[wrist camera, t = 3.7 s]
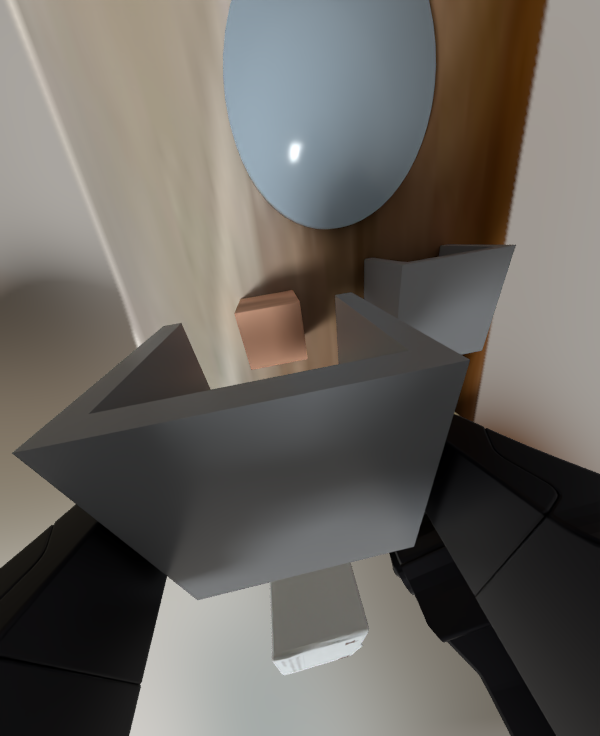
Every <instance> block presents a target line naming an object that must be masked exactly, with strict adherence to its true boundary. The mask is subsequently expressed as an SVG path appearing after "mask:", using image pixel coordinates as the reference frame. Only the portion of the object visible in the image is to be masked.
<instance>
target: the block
mask: <svg viewBox="0 0 600 736" xmlns="http://www.w3.org/2000/svg"><path fill="white" fill-rule="evenodd" d="M235 317H236V320H237V324H238V327H239V330H240V334H241V337H242V340H243V344H244V347H245V350H246V354H247V357H248V360H249V364H250V367H251V370H253V369H258V368H264V367H269V366H274V365H279V364H284V363H290V362H295V361H300V360H305V359H308V357H307V350H306V343H305V336H304V329H303V321H302V314H301V307H300V301H299V300H298V298H297V296H296V295H295V293H294V291H293V290H289V291H284V292H278V293H272V294H267V295H261V296H255V297H250V298H244V299H240V302H239V304H238V306H237V309H236V311H235Z"/></svg>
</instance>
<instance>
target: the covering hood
mask: <svg viewBox="0 0 600 736" xmlns="http://www.w3.org/2000/svg"><path fill="white" fill-rule="evenodd" d="M335 306H336V324H337V341H338V359H339V364H338V365H333V366H328V367H323V368H318V369H313V370H308V371H303V372H298V373H293V374H288V375H283V376H278V377H273V378H268V379H263V380H258V381H253V382H248V383H243V384H238V385H233V386H228V387H223V388H217V389H212V390H211V389H210V387H209V385H208V383H207V380H206V378H205V376H204V374H203V371H202V369H201V367H200V364H199V362H198V360H197V358H196V355H195V353H194V351H193V349H192V346H191V344H190V342H189V340H188V337H187V335H186V333H185V330H184V328H183V326H182V324H181V323H179V324H173V325H168V326H163V327H162V328H161V329H160V330H158V331H157V332H156V333H155V334H154V335H152V336H151V337H150V338H149V339H148V340H147V341H145V342H144V343H143V344H142V345H141V346H139V347H138V348H137V349H136V350H135V351H133V352H132V353H131V354H130V355H129V356H127V357H126V358H125V359H124V360H123V361H121V362H120V363H119V364H118V365H117V366H115V367H114V368H113V369H112V370H111V371H109V372H108V373H107V374H106V375H105V376H104V377H103V378H101V379H100V380H99V381H98V382H96V383H95V384H94V385H93V386H92V387H90V388H89V389H88V390H87V391H86V392H85V393H83V394H82V395H81V396H80V397H78V398H77V399H76V400H75V401H74V402H73V403H71V404H70V405H69V406H68V407H67V408H65V409H64V410H63V411H62V412H61V413H60V414H58V415H57V416H56V417H55V418H53V419H52V420H51V421H50V422H49V423H47V424H46V425H45V426H44V427H43V428H41V429H40V430H39V431H38V432H37V433H35V434H34V435H33V436H32V437H31V438H29V439H28V440H27V441H26V442H25V443H24V444H22V445H21V446H20V447H19V448H18V449H16V450H15V451H14V452H13V453H12V454H14V455H15V456H16V457H17V458H19V459H20V460H21V461H23V462H24V463H25V464H26V465H28V466H29V467H30V468H31V469H33V470H34V471H35V472H36V473H38V474H39V475H40V476H41V477H43V478H44V479H45V480H47V481H48V482H49V483H50V484H52V485H53V486H54V487H55V488H57V489H58V490H59V491H60V492H62V493H63V494H64V495H66V496H67V497H68V498H69V499H71V500H72V501H73V502H74V503H76V504H77V505H78V506H79V507H81V508H82V509H83V510H84V511H86V512H87V513H88V514H89V515H91V516H92V517H93V518H95V519H96V520H97V521H98V522H100V523H101V524H102V525H103V526H105V527H106V528H107V529H108V530H110V531H111V532H112V533H113V534H115V535H116V536H117V537H119V538H120V539H121V540H122V541H124V542H125V543H126V544H127V545H129V546H130V547H131V548H132V549H134V550H135V551H136V552H137V553H139V554H140V555H141V556H143V557H144V558H145V559H146V560H148V561H149V562H150V563H151V564H153V565H154V566H155V567H156V568H158V569H159V570H160V571H161V572H163V573H164V574H165V575H167V576H168V577H169V578H170V579H172V580H173V581H174V582H175V583H177V584H178V585H179V586H180V587H182V588H183V589H184V590H186V591H187V592H188V593H189V594H191V595H192V596H193V597H194V598H196V599H197V600H200V599H204V598H208V597H212V596H216V595H220V594H224V593H228V592H232V591H237V590H241V589H245V588H249V587H253V586H257V585H261V584H265V583H269V582H273V581H277V580H281V579H285V578H289V577H293V576H297V575H301V574H305V573H309V572H313V571H317V570H321V569H325V568H329V567H334V566H338V565H342V564H346V563H350V562H354V561H358V560H361V559H366V558H369V557H374V556H378V555H382V554H386V553H390V552H394V551H398V550H402V549H406V548H410V547H414V545H415V542H416V538H417V535H418V532H419V528H420V525H421V522H422V518H423V515H424V512H425V508H426V505H427V502H428V498H429V495H430V492H431V488H432V485H433V481H434V478H435V475H436V471H437V468H438V465H439V461H440V458H441V455H442V451H443V448H444V445H445V441H446V438H447V435H448V431H449V428H450V425H451V421H452V418H453V415H454V411H455V408H456V405H457V401H458V398H459V395H460V391H461V388H462V385H463V381H464V378H465V375H466V371H467V368H468V365H469V361H470V360H469V359H468V358H466V357H464V356H462V355H461V354H459V353H457V352H455V351H454V350H452V349H450V348H448V347H446V346H445V345H443V344H441V343H439V342H438V341H436V340H434V339H432V338H431V337H429V336H427V335H425V334H424V333H422V332H420V331H418V330H417V329H415V328H413V327H411V326H410V325H408V324H406V323H404V322H403V321H401V320H399V319H397V318H396V317H394V316H392V315H390V314H389V313H387V312H385V311H383V310H382V309H380V308H378V307H376V306H375V305H373V304H371V303H369V302H368V301H366V300H364V299H362V298H360V297H359V296H357V295H355V294H353V293H352V292H350V293H344V294H339V295H335Z"/></svg>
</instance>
